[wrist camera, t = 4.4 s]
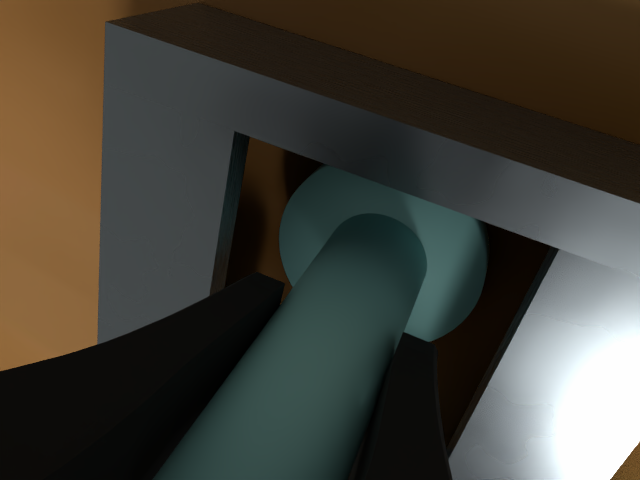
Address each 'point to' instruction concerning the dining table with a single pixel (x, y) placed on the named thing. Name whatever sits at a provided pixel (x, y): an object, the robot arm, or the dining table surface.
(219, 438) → the peg
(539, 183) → the keyhole plate
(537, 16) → the dining table surface
